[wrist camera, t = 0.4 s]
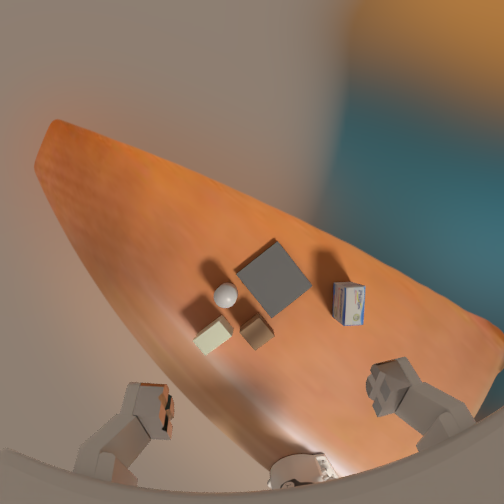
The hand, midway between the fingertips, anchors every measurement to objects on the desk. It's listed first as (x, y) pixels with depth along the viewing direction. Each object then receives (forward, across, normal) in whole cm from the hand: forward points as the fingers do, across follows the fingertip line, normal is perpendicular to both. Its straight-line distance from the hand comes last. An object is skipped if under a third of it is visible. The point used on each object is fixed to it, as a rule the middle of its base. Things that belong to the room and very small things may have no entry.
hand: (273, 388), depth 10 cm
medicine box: (+42, +22, -27) cm, 55 cm away
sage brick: (+42, -6, -32) cm, 53 cm away
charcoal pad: (+45, +7, -22) cm, 51 cm away
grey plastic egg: (+45, -3, -25) cm, 52 cm away
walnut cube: (+41, +3, -32) cm, 52 cm away
